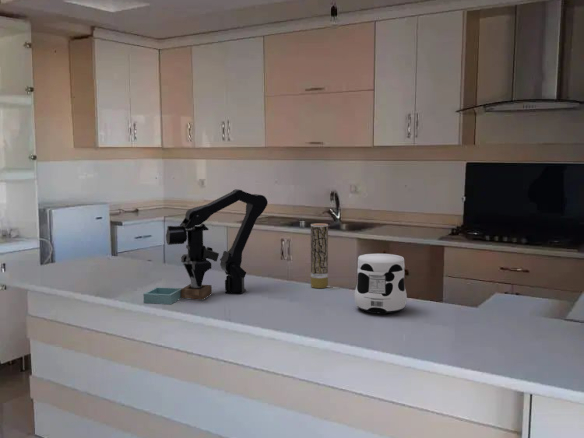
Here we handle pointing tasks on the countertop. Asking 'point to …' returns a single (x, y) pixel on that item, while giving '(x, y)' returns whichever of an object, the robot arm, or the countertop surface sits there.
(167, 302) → the tray
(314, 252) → the bark textured cylinder
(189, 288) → the block
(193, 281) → the translucent grey cylinder
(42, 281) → the countertop surface
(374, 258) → the milk container
